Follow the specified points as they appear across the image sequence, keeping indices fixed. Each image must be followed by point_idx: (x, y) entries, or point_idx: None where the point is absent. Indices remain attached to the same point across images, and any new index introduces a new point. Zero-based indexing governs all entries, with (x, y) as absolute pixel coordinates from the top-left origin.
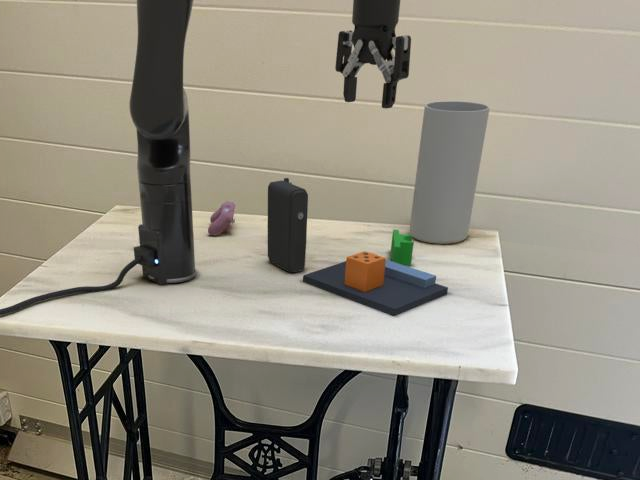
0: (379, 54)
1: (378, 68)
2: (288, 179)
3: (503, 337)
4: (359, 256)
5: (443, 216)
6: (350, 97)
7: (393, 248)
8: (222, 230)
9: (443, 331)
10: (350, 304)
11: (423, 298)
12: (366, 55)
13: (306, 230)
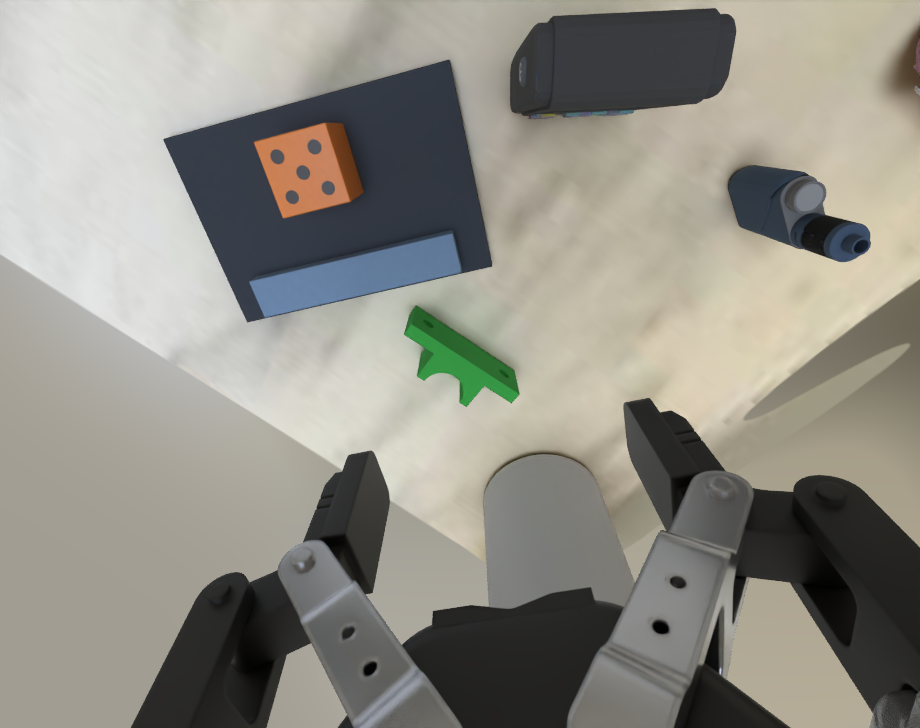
0: (333, 685)
1: (357, 584)
2: (850, 249)
3: (23, 267)
4: (315, 159)
5: (499, 508)
6: (632, 432)
7: (443, 338)
8: (917, 45)
9: (69, 182)
10: (264, 85)
11: (211, 242)
12: (535, 655)
13: (519, 107)
